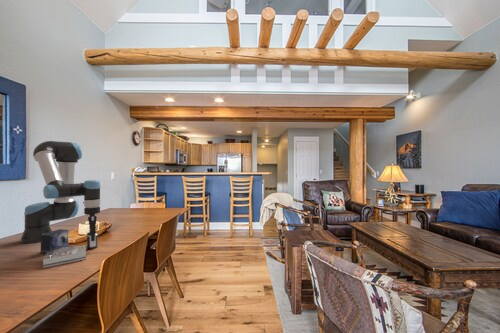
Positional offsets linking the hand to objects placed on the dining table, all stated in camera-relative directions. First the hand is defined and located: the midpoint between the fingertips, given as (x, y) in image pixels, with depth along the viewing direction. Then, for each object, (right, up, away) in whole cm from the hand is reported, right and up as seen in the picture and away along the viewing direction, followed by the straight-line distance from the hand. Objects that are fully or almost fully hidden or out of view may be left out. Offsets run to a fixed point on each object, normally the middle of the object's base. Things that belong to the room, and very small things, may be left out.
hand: (92, 243), depth 126 cm
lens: (0, -3, 0) cm, 3 cm away
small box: (-19, -3, -3) cm, 20 cm away
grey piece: (-2, -3, -15) cm, 16 cm away
